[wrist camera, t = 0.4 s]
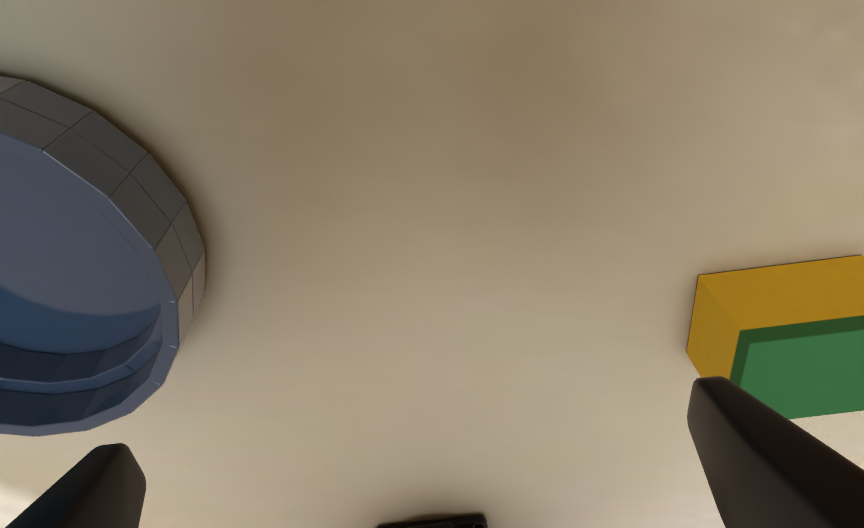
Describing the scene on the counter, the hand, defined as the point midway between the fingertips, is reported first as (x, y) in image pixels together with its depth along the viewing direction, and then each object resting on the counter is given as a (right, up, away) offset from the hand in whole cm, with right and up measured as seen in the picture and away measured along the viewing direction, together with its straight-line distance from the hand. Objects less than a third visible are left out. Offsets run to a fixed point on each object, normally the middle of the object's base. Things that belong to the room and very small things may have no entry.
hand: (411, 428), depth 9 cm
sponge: (+16, +1, +17) cm, 23 cm away
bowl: (-15, +4, +14) cm, 21 cm away
